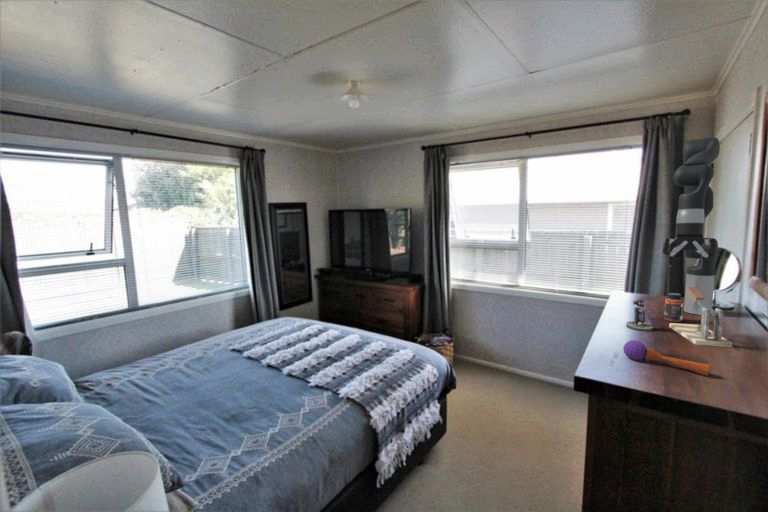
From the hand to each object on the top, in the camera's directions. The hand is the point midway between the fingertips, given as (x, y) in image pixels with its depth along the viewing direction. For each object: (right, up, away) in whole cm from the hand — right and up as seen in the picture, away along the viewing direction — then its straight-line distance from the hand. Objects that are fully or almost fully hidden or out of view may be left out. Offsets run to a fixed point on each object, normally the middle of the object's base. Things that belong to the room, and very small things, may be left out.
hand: (686, 267), depth 127 cm
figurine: (-9, -24, +12) cm, 28 cm away
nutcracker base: (+5, -25, +1) cm, 25 cm away
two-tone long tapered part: (-26, -29, -22) cm, 45 cm away
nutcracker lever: (+5, -15, 0) cm, 16 cm away
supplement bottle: (+11, -23, +20) cm, 32 cm away
